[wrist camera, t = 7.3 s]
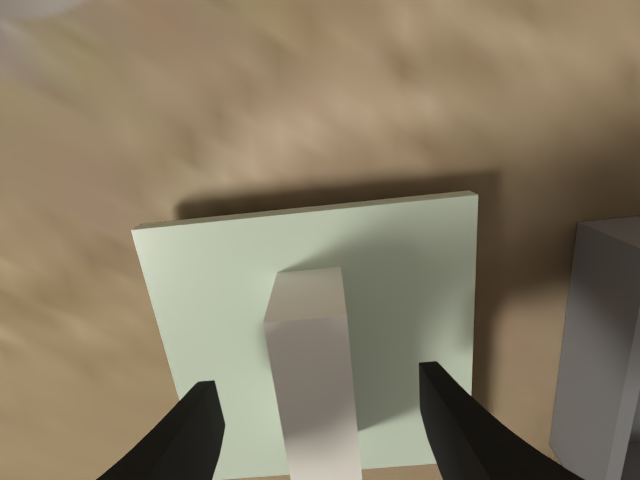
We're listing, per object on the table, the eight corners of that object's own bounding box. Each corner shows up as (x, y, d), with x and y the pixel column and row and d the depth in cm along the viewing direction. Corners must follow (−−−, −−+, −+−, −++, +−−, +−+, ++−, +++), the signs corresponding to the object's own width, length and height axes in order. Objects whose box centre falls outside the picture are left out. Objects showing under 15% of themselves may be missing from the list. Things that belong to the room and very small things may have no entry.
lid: (455, 428, 18) (505, 546, 13) (213, 448, 19) (173, 568, 14) (459, 185, 14) (533, 222, 9) (152, 216, 15) (67, 268, 10)
